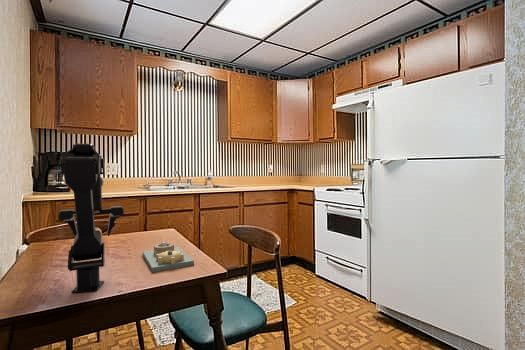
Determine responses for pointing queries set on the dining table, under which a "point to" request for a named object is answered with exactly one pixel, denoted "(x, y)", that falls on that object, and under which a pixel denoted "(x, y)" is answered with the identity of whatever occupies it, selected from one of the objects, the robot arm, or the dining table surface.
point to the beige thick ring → (163, 248)
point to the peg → (163, 244)
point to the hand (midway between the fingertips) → (93, 237)
